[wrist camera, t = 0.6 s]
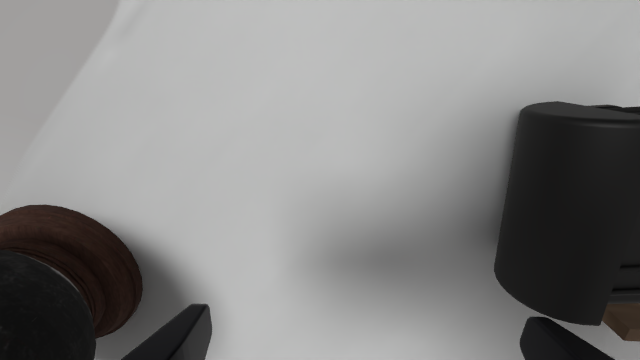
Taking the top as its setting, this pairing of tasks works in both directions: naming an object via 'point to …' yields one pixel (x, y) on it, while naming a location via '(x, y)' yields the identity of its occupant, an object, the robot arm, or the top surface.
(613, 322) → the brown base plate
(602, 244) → the end cap
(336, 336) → the top surface
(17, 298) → the dark brown round piece
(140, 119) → the top surface
